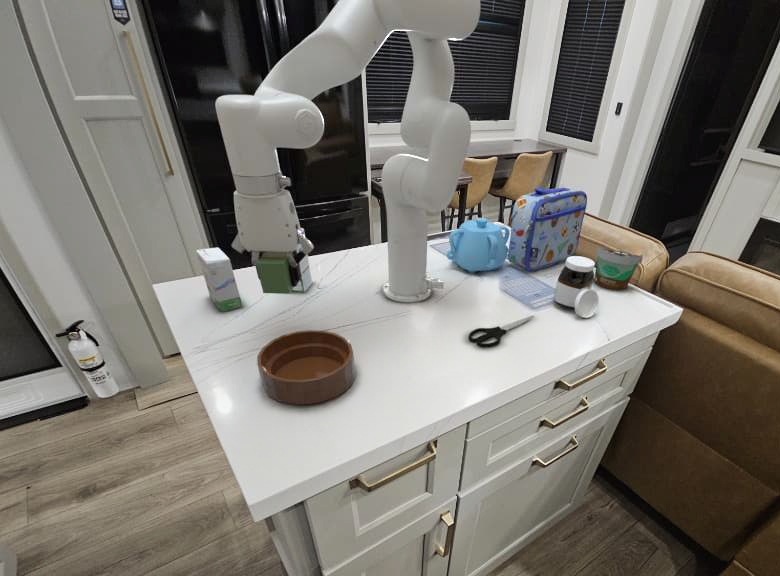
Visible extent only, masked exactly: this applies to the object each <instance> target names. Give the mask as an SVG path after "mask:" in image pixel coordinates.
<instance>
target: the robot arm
mask: <svg viewBox="0 0 780 576" xmlns="http://www.w3.org/2000/svg"><path fill="white" fill-rule="evenodd" d="M480 15H481V0H338V1H337V3H336V4H335V5H334V6H333V8H332V9H331V10H330V12H329V13H328V15H327V16H326V17H325V19H324V20H323V21H322V23H321V24H320V25H319V26H318V28H316V29H315V30H314V31H313V32H311V34H309V35H308V36H306V37H305V38H304V39H303V40H301V42H300V43H299V44H297V45H296V46H295V47H293V48H292V49H291V50H290V51H289V52H288V53H286V54H285V55H284V56H283V57H282V58H281V59H280V60H278V62H277V63H276V64H275V65H274V67H272V69H271V70H270V71H269V73H268V74H267V75H266V77H265V78H264V80H262V82H261V83H260V85H259V86H258V87H257V89H256V90H255V93H254V94H224V95H221V96H218V97H217V98H216V100H215V105H214V106H215V111H216V115H217V120H218V125H219V126H220V131H221V136H222V139H223V143H224V147H225V151H226V155H227V159H228V163H229V166H230V170H231V174H232V178H233V183H234V186H235V191H234V192H233V205H234V213H235V214H234V215H235V222H236V227H237V234H236V236H235V237H234V240H233V241H232V243H231V247H232V249H234V250H235V251H237V252H238V253H240V254H242V256H243V257H245V258H246V259H247V260H248V261H250V262H251V265H252V266H254V267H255V271H256V275H257V278H258V280H259V281H260V278H259V274H258V270H257V266H256V262H257V261H258V260H259V259H260V257H261V256H262V254H263V253H265V252H284V253H285V255H286V257H287V259H288V261H289V263H290V266H289V274H290V279H291V283H292V286H293V287H296V286H297V284H298V282H299V281H300V280H301V273H300V268H299V263H300V261H301V260H302V259H303V258H304V257H305V256H306V255H307V254H308V255H309V254H310V253H311V252H312V251H313V250H314V248H315V247H314V244H313V243H312V242H311V241H310V240H309V239H308V238H307V237H306V235H305V236H304V235H303V234H302V232H301V228H302V227H301V224H300V221H299V217H298V214H297V210H296V206H295V204H294V200H293V198H292V195H291V193H290V190H288V189H285V188H286V187H291V186H292V182H291V181H292V180H291V178H290V177H288V176H287V177H286V176H285V175H283V172H282V171H281V168H280V163H279V158H278V157H279V156H278V151H277V148H283V149H284V148H285V149H301V150H303V149H309V148H311V147H313V146H315V145H316V144H318V143H319V142H320V141H321V139H322V137H323V135H324V132H325V131H324V130H325V122H324V117H323V115H322V112H321V111H320V109H319V108H318V106H317V105H316V104H315V103H314V102H313V101H312V100H313V99H315V98H316V97H318V95H320V94H322V93H323V92H325V91H327V90H330V89H332V88H335V87H338V86H341V85H344V84H347V83H349V82H351V81H353V80H355V79H356V78H358V77H359V76H360V75H362V73H363V72H364V70H365V69H366V68H367V66H368V65H369V63H370V62H371V61H372V59H373V57H374V56H375V55H376V53H377V52H378V51H379V49H380V48H381V47H382V45H383V44H385V41H386V40H387V38H388V37H389V36H390V35H391V34H392V33H393V32H394V31H400V32H405V33H406V34H407V37H408V40H409V43H410V47H411V51H412V57H413V58H412V60H413V66H412V73H411V79H410V83H409V87H408V91H407V95H406V99H405V103H404V107H403V112H402V116H401V121H400V129H399V130H400V136H401V139H402V141H403V143H404V144H405V145H406V146H408V147H409V148H411V149H414V150H415V151H416V150H417V151H420V152H423V153H428V154H427V159H426V158H423V157H419V156H415V155H411V154H407V153H398V154H394V155H392V156H391V157H389V158H388V159H387V160H386V161H385V162H384V165H383V167H382V169H381V176H380V177H381V179H380V181H381V182H380V183H381V189H382V194H383V199H384V204H385V211H386V228H387V229H386V231H387V234H386V235H387V263H388V266H387V267H388V281H387V282H385V283H384V284H383V286H382V292H383V293H382V294H383V295H384V296H385V297H386V298H388V299H390V300H392V301H395V302H399V303H400V302H401V303H417V302H421V301H425V300H427V299H428V298H429V297H431V295H432V292H433V289H436V290H444V287H445V284H444V283H445V282H444V281H443V280H441V281H440V278H439V277H430V276H429V275H428V272H429V271H427V265H428V264H427V263H428V261H427V260H428V233H429V231H428V229H429V225H428V224H429V223H428V222H429V221H428V215H427V212H429V213H441V212H442V211H444V210H446V209H447V207H449V205H450V204H451V202H452V201H453V198H454V196H455V193H456V190H457V187H458V185H459V184H458V183H459V180H460V177H461V174H462V171H463V168H464V164H465V161H466V157H467V155H468V150H469V147H470V142H471V137H472V126H471V125H472V124H471V119H470V116H469V113H468V112H467V111H466V109H465V108H464V107H463V106H461V104H458V103H455V102H452V101H451V95H452V91H453V88H454V87H453V86H454V83H455V75H456V74H455V63H454V59H453V54H452V52H451V48H450V46H449V43H448V41H462V40H465V39H466V38H468V37H470V36H471V34H472V33H474V31H475V29H476V27H477V26H478V24H479V20H480ZM297 244H301V245H302V247H303V249H301V250H300V251H299V252H298V253H297V251H296V250H297Z"/></svg>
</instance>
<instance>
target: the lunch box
mask: <svg viewBox="0 0 780 576" xmlns="http://www.w3.org/2000/svg"><path fill="white" fill-rule="evenodd" d="M587 205H588V195H587V193H586V192H585V191H584V190H575V189H573V190H572V189H570V188H567V187H556V188H555V187H554V188H550V189H543V188H541V187H534V192H530V193H526V194H523V195H521V196H519V197H518V198H517V199H516V200H515V203H514V204H513V209H512V215H511V216H512V217H511V228H510V235H509V242H508V253H507V259H508V262H509V263H511V264H515V265H517V266H521V267H523V268H525V269H526V271H529V272H532V271H533V272H536V271H538V270H541V269H543V268H547V267H550V266H552V265H555V264H557V263H559V262H562V261H564V260H566V259H567V258H568V257H570V256H574V254H575V252H576V251H577V249H578V246H579V242H580V237H581V231H582V226H583V222H584V218H585V214H586V210H587Z"/></svg>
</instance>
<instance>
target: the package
mask: <svg viewBox="0 0 780 576" xmlns="http://www.w3.org/2000/svg"><path fill="white" fill-rule="evenodd" d="M256 266H257V270H258V274H259V278H260V280H259V282H260V285H261V290H262V293H263V294H278V295H279V294H281V295H282V294H283V295H289V294H291V293H292V292H293V291H292V289H293V288H294V287H293V286H292V283H291V279H290V274H289V266H290V263H289V261H288V259H287V257H286V255H285V253H284V252H265V251H264V252H263V254H262V256H261V257H260V259H259V260H258V261H257V262H256ZM258 274H257V275H258ZM259 278H258V279H259Z"/></svg>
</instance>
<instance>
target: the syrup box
mask: <svg viewBox="0 0 780 576" xmlns="http://www.w3.org/2000/svg"><path fill="white" fill-rule="evenodd" d="M300 228H301V232H302V234H303V235H304V236H305V237H306V233H305V229H304V228H303V227H300ZM301 249H303V247H302V245H301V244H297V250H296V251H297V253H298V252H299V251H300V250H301ZM299 268H300V273H301V280H300V281H299V282H298V284H297V286H296V287H294V288H293V289H292V291H291V292H301V293H306V292H307V290H308V289H309V288H310V287H311V286H312V284H313V279H312V274H311V267H310V260H309V254H307V255H306V256H305V257H304V258H303V259H302V260H301V261H300V263H299Z"/></svg>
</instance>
